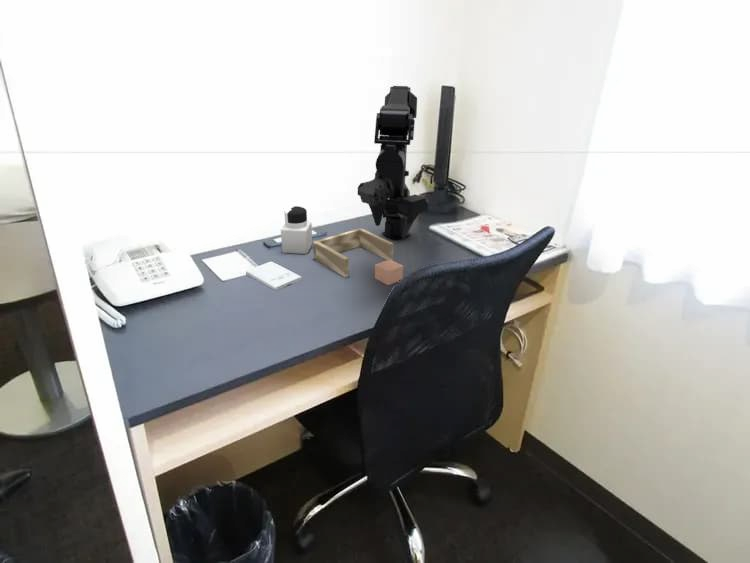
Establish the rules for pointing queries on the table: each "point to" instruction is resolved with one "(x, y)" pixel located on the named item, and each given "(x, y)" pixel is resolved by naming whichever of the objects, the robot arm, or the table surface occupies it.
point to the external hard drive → (273, 275)
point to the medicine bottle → (296, 231)
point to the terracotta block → (388, 272)
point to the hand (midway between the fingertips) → (390, 231)
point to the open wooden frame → (332, 246)
